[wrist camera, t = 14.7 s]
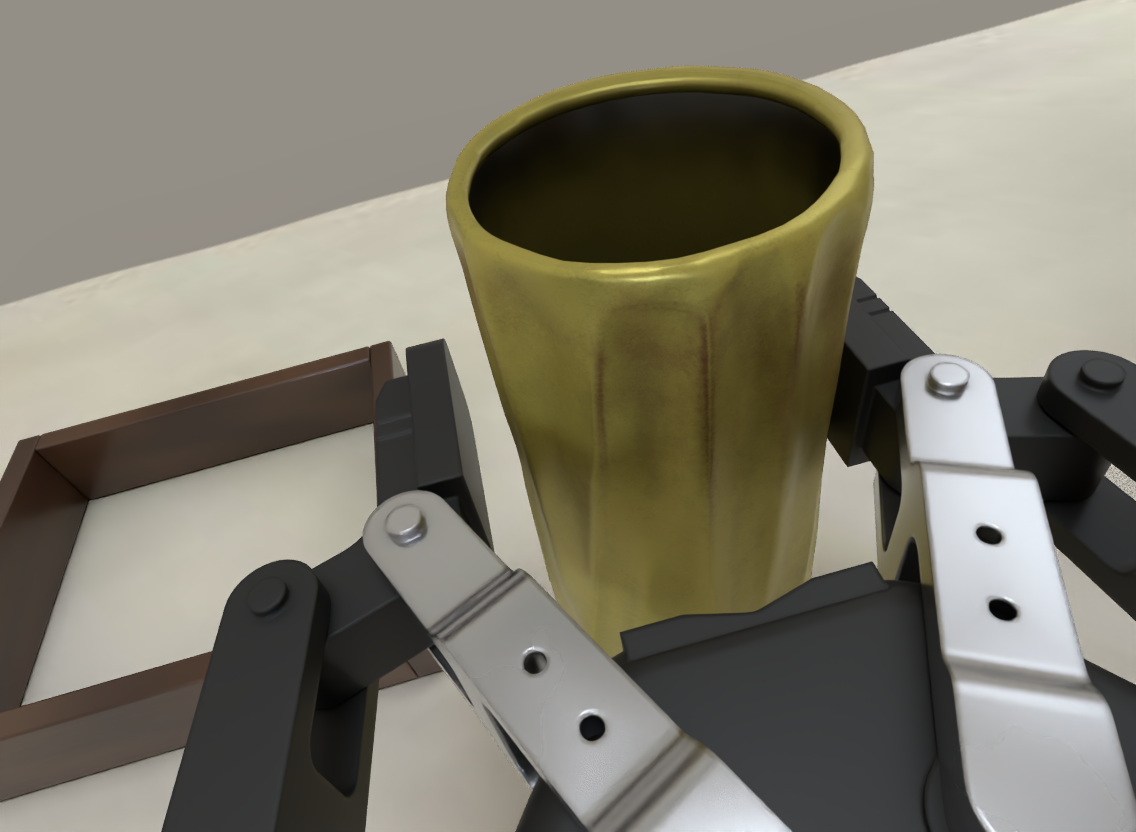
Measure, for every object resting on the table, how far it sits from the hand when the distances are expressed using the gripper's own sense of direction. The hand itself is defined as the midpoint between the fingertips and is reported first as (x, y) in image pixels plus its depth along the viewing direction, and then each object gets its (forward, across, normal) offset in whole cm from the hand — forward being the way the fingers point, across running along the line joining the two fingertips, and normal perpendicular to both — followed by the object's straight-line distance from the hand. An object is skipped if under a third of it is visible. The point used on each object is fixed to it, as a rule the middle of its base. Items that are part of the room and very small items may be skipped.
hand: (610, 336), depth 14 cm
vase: (-2, 0, +10) cm, 10 cm away
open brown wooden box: (+5, +13, +10) cm, 17 cm away
